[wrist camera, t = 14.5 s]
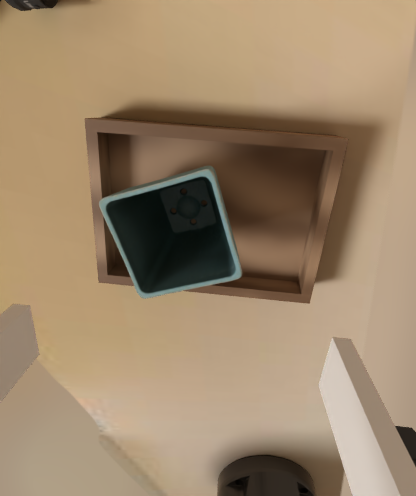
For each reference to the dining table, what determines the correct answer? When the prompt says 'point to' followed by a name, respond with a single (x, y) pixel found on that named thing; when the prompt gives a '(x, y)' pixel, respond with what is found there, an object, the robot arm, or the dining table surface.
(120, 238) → the flower pot
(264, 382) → the dining table surface
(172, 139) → the holder tray
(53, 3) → the headset
